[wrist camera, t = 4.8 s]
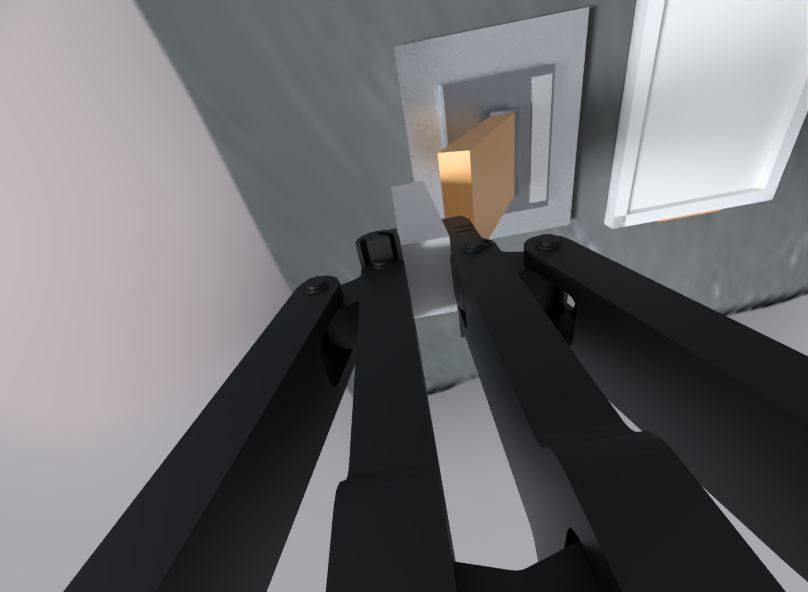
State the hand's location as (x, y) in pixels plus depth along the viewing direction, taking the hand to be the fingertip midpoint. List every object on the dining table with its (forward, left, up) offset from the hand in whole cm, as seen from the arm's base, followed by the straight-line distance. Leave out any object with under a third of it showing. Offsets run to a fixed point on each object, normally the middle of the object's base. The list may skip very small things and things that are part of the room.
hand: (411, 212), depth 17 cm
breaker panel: (0, +7, -11) cm, 13 cm away
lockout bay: (0, +23, -11) cm, 26 cm away
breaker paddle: (0, +7, -8) cm, 10 cm away
